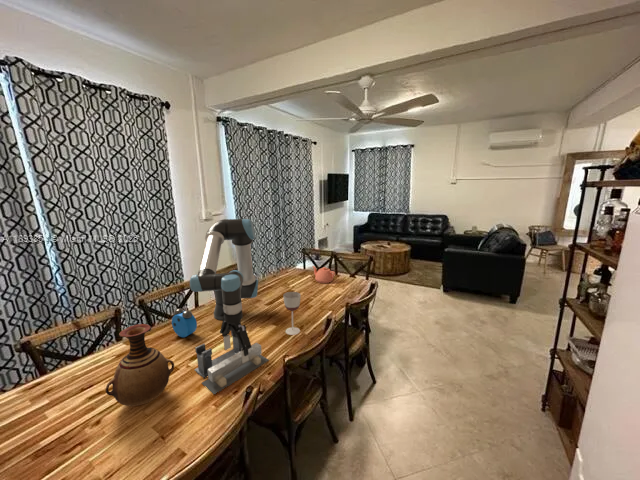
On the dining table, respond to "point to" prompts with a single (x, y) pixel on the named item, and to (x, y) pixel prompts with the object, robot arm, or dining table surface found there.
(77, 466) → the dining table surface
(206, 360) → the stand
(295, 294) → the wineglass
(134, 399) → the vase
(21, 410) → the dining table surface
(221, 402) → the dining table surface
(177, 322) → the alarm clock
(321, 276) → the teapot
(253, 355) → the rail
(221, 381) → the rests
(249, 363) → the mat
